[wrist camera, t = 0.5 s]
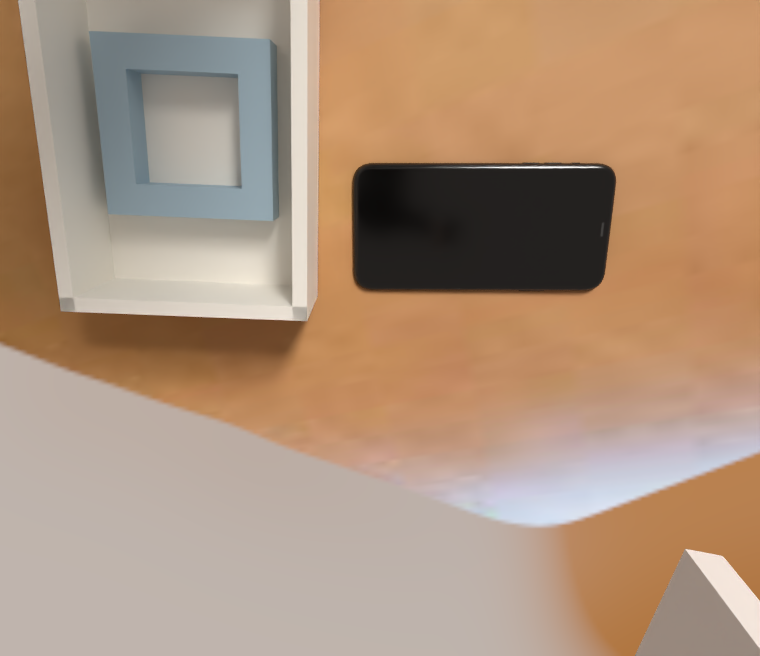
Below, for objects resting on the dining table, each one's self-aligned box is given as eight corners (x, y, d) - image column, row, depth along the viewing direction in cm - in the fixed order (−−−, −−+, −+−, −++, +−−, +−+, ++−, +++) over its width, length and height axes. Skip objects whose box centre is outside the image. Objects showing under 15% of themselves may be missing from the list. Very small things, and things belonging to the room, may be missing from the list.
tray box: (63, -110, 30) (-5, -166, 24) (320, -97, 30) (307, -150, 24) (107, 287, 36) (60, 311, 31) (317, 296, 36) (306, 321, 31)
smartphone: (354, 288, 37) (599, 288, 36) (353, 291, 36) (604, 292, 36) (352, 162, 34) (614, 162, 34) (352, 162, 33) (620, 163, 33)
